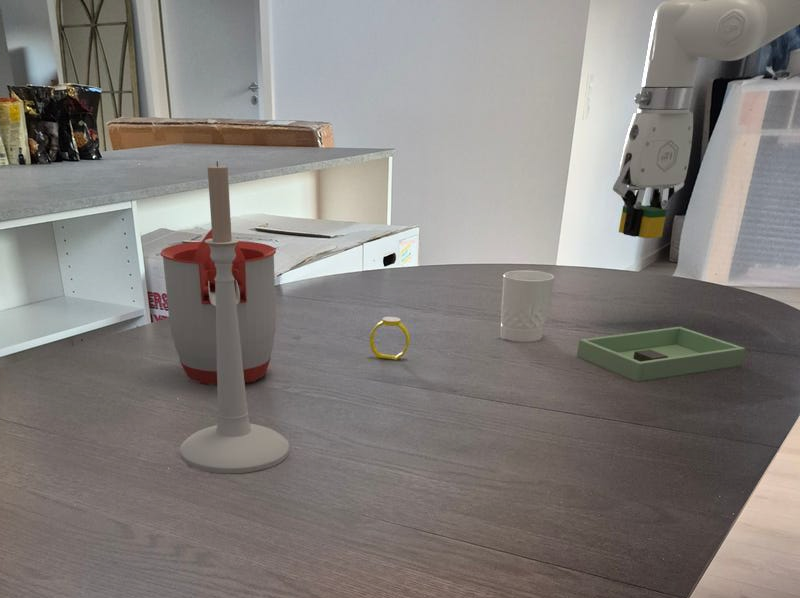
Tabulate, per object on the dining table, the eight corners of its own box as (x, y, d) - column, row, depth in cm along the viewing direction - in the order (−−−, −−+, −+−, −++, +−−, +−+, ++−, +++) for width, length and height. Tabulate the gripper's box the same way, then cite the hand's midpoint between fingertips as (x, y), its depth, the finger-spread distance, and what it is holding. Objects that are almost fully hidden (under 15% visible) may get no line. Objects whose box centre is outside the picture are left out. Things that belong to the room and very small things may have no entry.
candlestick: (300, 436, 104) (296, 156, 87) (272, 478, 93) (261, 169, 77) (202, 428, 106) (179, 154, 89) (164, 468, 96) (129, 166, 79)
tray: (675, 346, 137) (679, 326, 135) (739, 369, 127) (745, 348, 125) (575, 360, 131) (579, 339, 129) (635, 385, 120) (639, 363, 118)
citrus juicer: (173, 398, 116) (157, 239, 104) (172, 362, 130) (157, 218, 118) (287, 392, 118) (283, 235, 106) (273, 357, 132) (268, 215, 120)
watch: (367, 359, 131) (369, 319, 127) (371, 354, 133) (372, 315, 130) (406, 362, 130) (408, 322, 126) (409, 357, 132) (411, 317, 129)
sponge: (632, 230, 142) (637, 204, 139) (661, 237, 136) (667, 209, 134) (618, 232, 141) (623, 205, 139) (646, 238, 135) (652, 210, 133)
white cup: (491, 343, 138) (499, 278, 133) (501, 331, 144) (508, 268, 139) (540, 348, 136) (549, 282, 130) (548, 336, 142) (557, 272, 136)
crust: (648, 357, 130) (650, 349, 129) (666, 364, 127) (668, 356, 126) (632, 359, 129) (634, 351, 128) (650, 366, 126) (652, 358, 125)
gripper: (637, 103, 123) (613, 241, 133) (725, 101, 128) (695, 234, 138) (604, 102, 129) (584, 234, 139) (689, 100, 134) (663, 228, 144)
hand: (640, 233), depth 138 cm, fingers closed on sponge, 3 cm apart
